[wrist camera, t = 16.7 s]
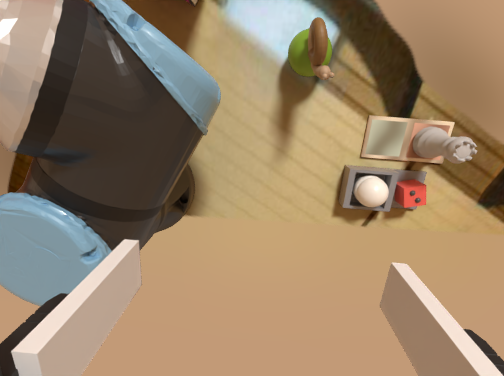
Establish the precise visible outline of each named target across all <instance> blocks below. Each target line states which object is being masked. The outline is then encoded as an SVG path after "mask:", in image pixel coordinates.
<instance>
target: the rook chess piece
mask: <svg viewBox="0 0 504 376" xmlns="http://www.w3.org/2000/svg"><path fill="white" fill-rule="evenodd" d="M475 147H477V146H476V144H475V143H473V141H472V139H470V138H468V137H459V138H458V137H449V136H448V134H447V133H446V131H444V130H442V129H441V128H437V127H427V128H423V129H422V130H421V131H419V132H418V133H417V135H416V136H415V138H414V141H413V150H414V151H415V153H416V154H417V155H419V156H421V157H425V158H435V157H438V156H443V157H444V158H446V159H448V160H449V161H450V162H452V163H462V162H465V161H466V160H468V161H470V160H471V159H473V158H472V157H471V156H472V155H473V154H476V153H477V150H474V149H475Z"/></svg>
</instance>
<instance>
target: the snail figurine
mask: <svg viewBox="0 0 504 376" xmlns="http://www.w3.org/2000/svg"><path fill="white" fill-rule="evenodd" d="M331 55H332V46H331V42H330V40H329V38H328V35H327V30H326V25H325V22H324V21H323V19H322V18H315V19H314V20H313V21H312V23H311V25H310V28H309V29H306V30H303V31H301V32H300V33H298V34H297V35H296V36H295V37H294V39H293V40H292V42H291V44H290V46H289V50H288V59H289V63H290V66H291V67H292V69H293V70H294V71H295V72H296V73H297V74H299V75H302V76H306V77H310V76H315V75H316V76H318V77H319V78H320V79H321V80H327V79H328V78H333V77H334V73H333V72H331V71H330V68H329V67H328V66H327V65H328V64H329V62H330V59H331Z"/></svg>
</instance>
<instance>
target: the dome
mask: <svg viewBox="0 0 504 376" xmlns="http://www.w3.org/2000/svg"><path fill="white" fill-rule="evenodd" d="M352 193H353V195H354V197H355V198H356V199H357V200H358V201H359V202H360V203H361V204H363V205H364V206H367V207H377V206H380V205H382V204H383V203H384V202H385V201H386V200H387V198H388V194H389V190H388V187H387V185H386V183H385V182H384V181H383V180H381V179H380V178H378V177H377V176H375V175H373V174H363V175H360V176H359V177H357V178H356V179H355V180H354V185H353V190H352Z"/></svg>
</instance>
